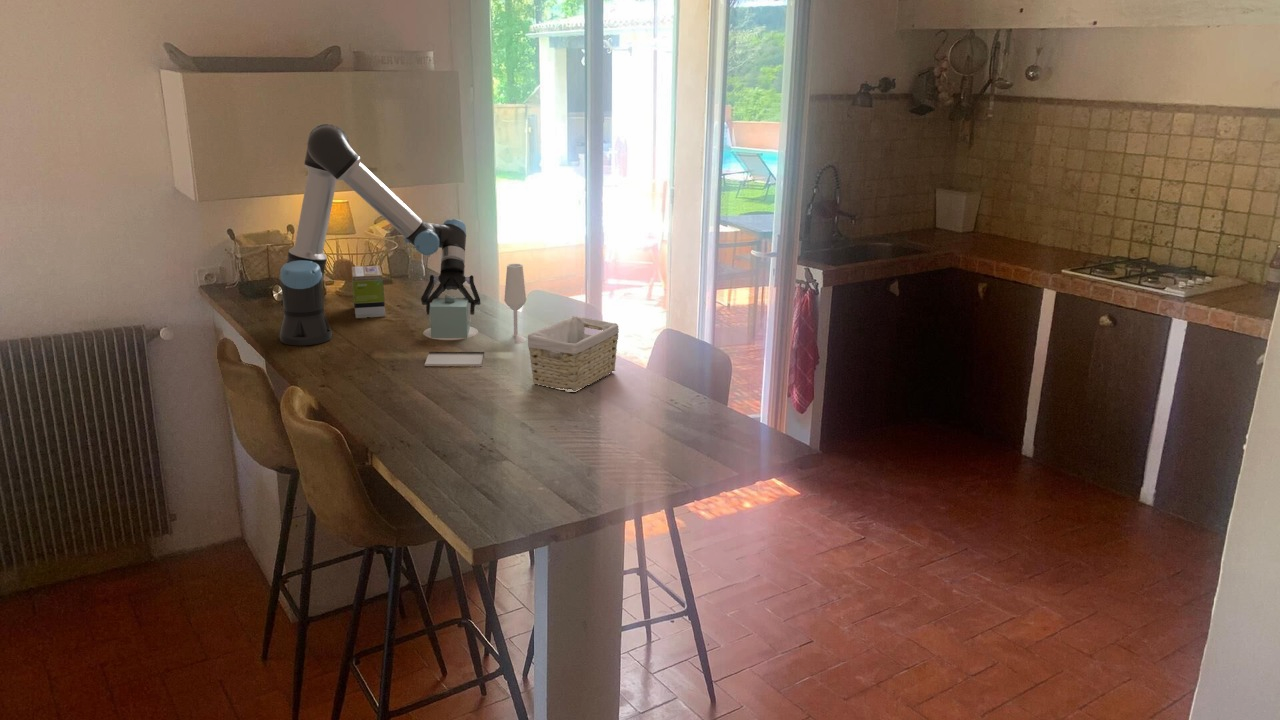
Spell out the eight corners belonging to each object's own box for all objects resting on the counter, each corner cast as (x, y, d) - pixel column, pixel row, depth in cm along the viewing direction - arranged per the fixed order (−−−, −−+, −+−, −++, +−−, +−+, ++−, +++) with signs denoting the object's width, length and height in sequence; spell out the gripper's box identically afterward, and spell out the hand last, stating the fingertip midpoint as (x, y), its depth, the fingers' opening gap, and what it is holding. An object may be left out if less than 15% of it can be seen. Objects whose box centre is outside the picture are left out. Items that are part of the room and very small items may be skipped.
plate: (446, 347, 288) (446, 332, 286) (412, 336, 298) (411, 321, 297) (489, 336, 301) (488, 321, 299) (454, 326, 311) (454, 311, 309)
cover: (467, 337, 294) (466, 301, 290) (431, 337, 292) (429, 301, 289) (469, 327, 304) (468, 292, 300) (434, 327, 303) (433, 292, 299)
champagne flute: (530, 339, 299) (530, 265, 291) (516, 344, 294) (515, 268, 286) (514, 335, 302) (513, 262, 295) (500, 340, 297) (499, 265, 290)
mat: (481, 366, 272) (481, 363, 272) (424, 366, 271) (424, 364, 270) (484, 349, 287) (484, 347, 287) (431, 349, 286) (431, 347, 286)
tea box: (353, 307, 329) (350, 265, 325) (383, 305, 332) (381, 264, 328) (354, 318, 316) (352, 275, 311) (386, 317, 319) (383, 274, 314)
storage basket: (574, 397, 251) (574, 343, 247) (524, 385, 259) (524, 333, 254) (620, 373, 271) (621, 323, 266) (573, 362, 278) (573, 314, 274)
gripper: (490, 269, 309) (488, 328, 300) (417, 269, 307) (413, 328, 297) (488, 257, 303) (487, 317, 293) (414, 256, 301) (409, 317, 291)
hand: (449, 322), depth 295 cm, fingers closed on cover, 11 cm apart
